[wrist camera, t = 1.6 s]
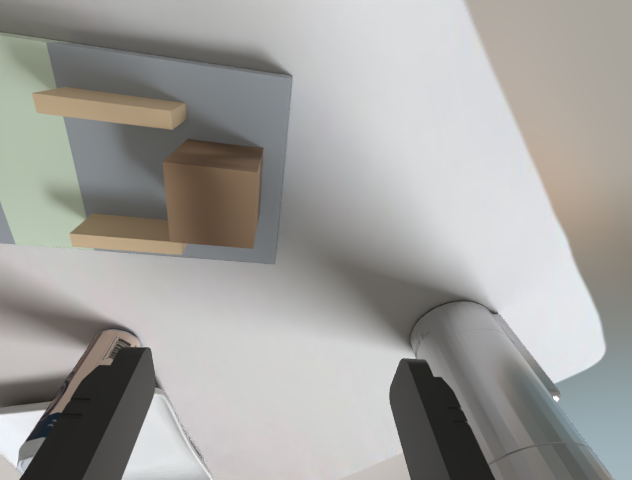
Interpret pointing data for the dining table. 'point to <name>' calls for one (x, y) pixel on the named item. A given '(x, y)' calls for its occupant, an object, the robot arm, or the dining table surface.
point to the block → (213, 193)
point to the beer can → (74, 387)
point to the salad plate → (148, 453)
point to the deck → (124, 144)
